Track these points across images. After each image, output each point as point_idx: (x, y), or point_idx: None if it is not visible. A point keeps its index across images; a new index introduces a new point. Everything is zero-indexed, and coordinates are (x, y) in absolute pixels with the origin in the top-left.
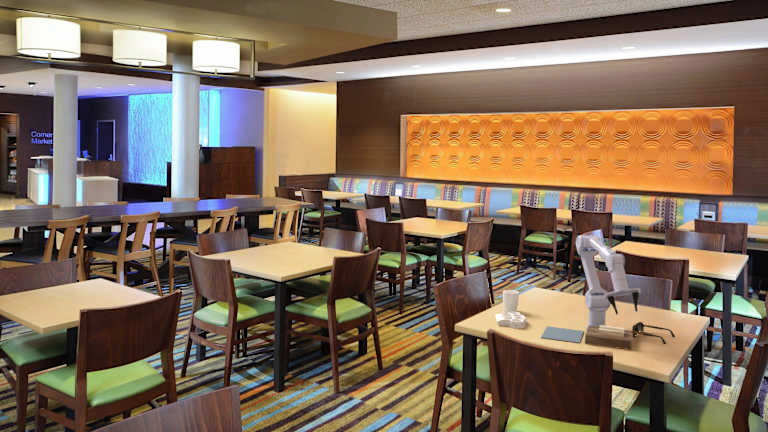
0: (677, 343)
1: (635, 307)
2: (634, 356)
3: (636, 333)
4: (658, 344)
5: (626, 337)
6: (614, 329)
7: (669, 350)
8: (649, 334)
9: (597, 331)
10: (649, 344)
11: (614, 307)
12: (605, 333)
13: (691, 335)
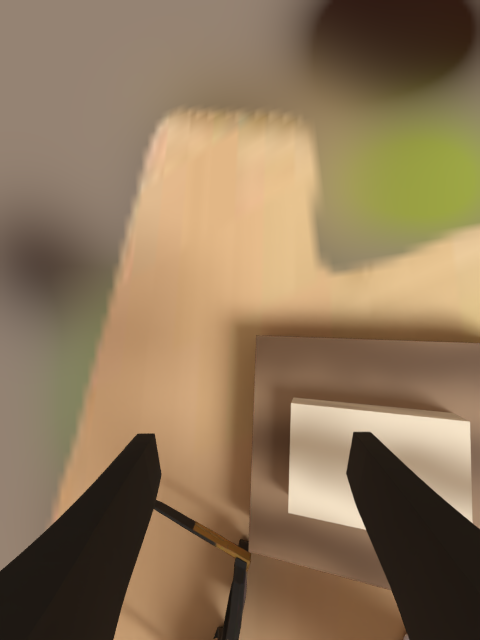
0: None
1: (132, 455)
2: (252, 248)
3: (228, 541)
4: None
5: (279, 396)
6: None
7: (125, 388)
8: (168, 513)
9: None
10: (187, 446)
11: (422, 488)
12: (406, 409)
13: None
